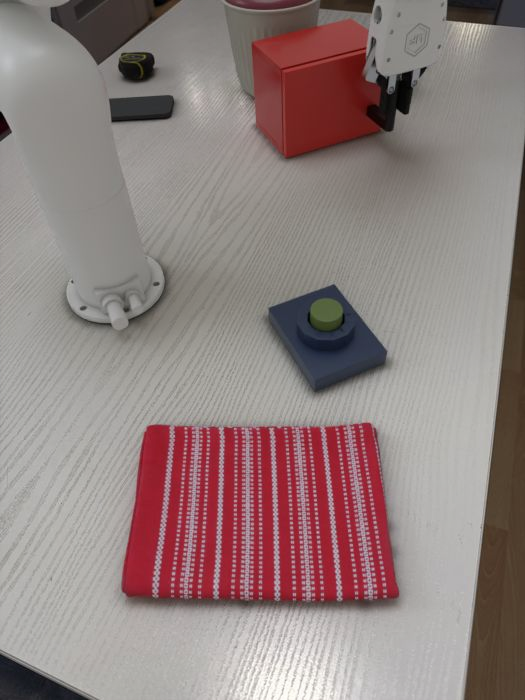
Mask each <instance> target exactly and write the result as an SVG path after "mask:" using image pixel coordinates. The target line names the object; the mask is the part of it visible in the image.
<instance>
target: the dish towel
mask: <svg viewBox="0 0 525 700" xmlns="http://www.w3.org/2000/svg"><path fill="white" fill-rule="evenodd" d="M145 428H146V429H145V431H144V432H143V435H142V436H143V437H142V440H141V441H142V442H141V447H140V451H139V458H138V459H139V460H138V468H137V475H136V487H135V498H134V499H135V500H134V506H133V511H132V516H131V522H130V528H129V533H128V539H127V544H126V549H125V556H124V562H123V566H122V575H121V592H122V593H123V594H125V596H126V597H129V598H143V597H144V598H146V597H147V598H154V599H172V600H173V599H179V600H194V599H196V600H209V599H210V600H232V601H235V600H239V601H248V602H249V601H250V602H251V601H274V602H303V603H304V602H305V603H314V602H321V603H323V602H345V601H354V602H355V601H377V600H388V599H389V600H390V599H398V598H399V597H400V589H399V586H398V584H397V583H398V582H397V579H396V571H395V563H394V557H393V551H392V549H393V548H392V542H391V541H392V540H391V532H390V527H389V526H390V525H389V519H388V517H389V516H388V507H387V500H386V499H387V498H386V491H385V484H384V475H383V468H382V461H381V453H380V446H379V445H380V444H379V441H378V431H377V428H376V427H374V426H373V424H372V423H371V422H356V423H347V424H346V423H345V424H340V425H333V426H332V425H331V426H325V425H320V426H317V425H316V426H312V425H311V426H309V425H297V426H295V425H289V426H285V425H284V426H283V425H276V426H274V425H273V426H270V425H269V426H267V425H264V426H260V425H250V426H243V425H242V426H230V425H229V426H217V425H215V426H213V425H212V426H210V425H199V426H198V425H183V424H179V425H176V424H174V425H171V424H150V425H147V426H146V427H145Z"/></svg>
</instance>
